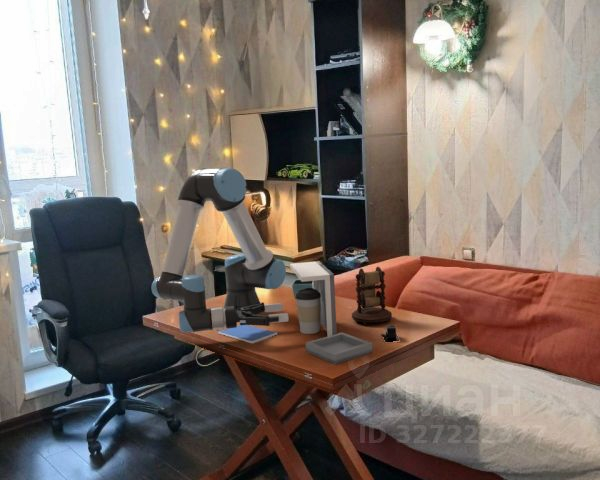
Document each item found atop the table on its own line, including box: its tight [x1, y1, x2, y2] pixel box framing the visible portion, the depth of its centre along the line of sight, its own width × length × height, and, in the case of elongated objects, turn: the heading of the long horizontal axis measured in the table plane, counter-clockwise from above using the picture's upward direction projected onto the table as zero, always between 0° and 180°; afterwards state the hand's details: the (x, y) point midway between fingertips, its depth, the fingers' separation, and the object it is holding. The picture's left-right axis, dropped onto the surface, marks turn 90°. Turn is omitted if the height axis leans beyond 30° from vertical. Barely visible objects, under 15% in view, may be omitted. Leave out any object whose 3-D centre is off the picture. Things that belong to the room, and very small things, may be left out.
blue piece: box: [217, 324, 278, 344], centre depth 210 cm, size 19×13×1 cm, turn 45°
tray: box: [305, 332, 373, 365], centre depth 186 cm, size 15×15×3 cm
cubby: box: [289, 260, 338, 337], centre depth 208 cm, size 24×11×22 cm, turn 10°
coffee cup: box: [295, 288, 321, 335], centre depth 208 cm, size 9×9×15 cm
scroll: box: [351, 266, 393, 326], centre depth 216 cm, size 15×15×20 cm
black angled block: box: [381, 324, 400, 343], centre depth 197 cm, size 12×7×5 cm, turn 179°
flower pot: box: [291, 279, 313, 302], centre depth 247 cm, size 9×9×9 cm
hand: (285, 311), depth 206 cm, fingers open, 13 cm apart
